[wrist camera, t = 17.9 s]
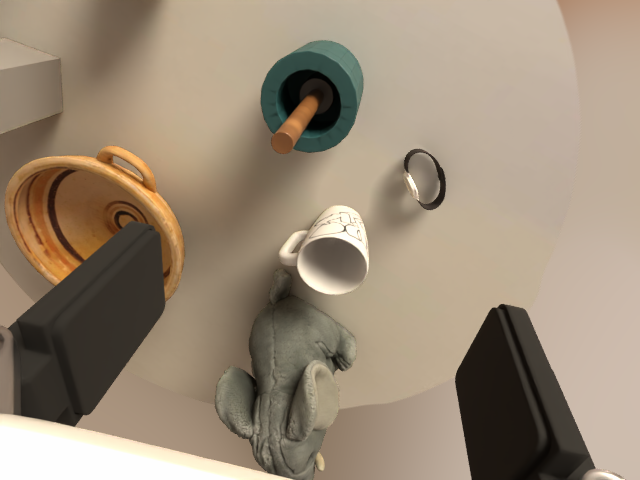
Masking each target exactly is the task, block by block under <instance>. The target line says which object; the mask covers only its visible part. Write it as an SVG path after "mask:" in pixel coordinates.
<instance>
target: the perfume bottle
mask: <svg viewBox="0 0 640 480" xmlns="http://www.w3.org/2000/svg"><path fill="white" fill-rule="evenodd" d="M61 112H63V103H62V83H61V63H60V58H58V57H55V56H53V55H50V54H47V53H44V52H42V51H39V50H36V49H34V48H31V47H28V46H26V45H23V44H20V43H18V42H15V41H12V40H10V39H7V38H3V39H0V134H2V133H5V132H7V131H10V130H13V129H16V128H19V127H22V126H24V125H27V124H30V123H33V122H36V121H38V120H41V119H44V118H47V117H50V116H53V115H55V114H58V113H61Z"/></svg>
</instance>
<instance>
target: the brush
mask: <svg viewBox="0 0 640 480" xmlns="http://www.w3.org/2000/svg"><path fill="white" fill-rule="evenodd" d="M337 94H338V90H337V88H336V86H335V84H334V83H333V82H332V81H331V80H330V79H329V78H328V77H327V76H325V75H323V74H322V73H320V72H318V71H317V72H315V73H313V74H312V75H311V76H310V77H309V78H308V79H307V80H306V81H305V82H304V83H303V84H302V86H301V88H300V91H299V100H300V104H299V105H298V106H297V108H296V109H295V110H294V111H293V112H292V114H291V115H290V116H289V117H288V118H287V119H286V121H285V122H284V123H283V124H282V125H281V127H280V128H279V129H278V130H277V131H276V133H275V134H274V135H273V136H272V139H271V144H272V147H273V149H274V150H275V151H276V152H278V153H280V154H287V153H289V152H290V151H291V150H292V149H293V147H294V145H295V144H296V142H297V141H298V139H299V138H300V136H301V135H302V133H303V131H304V130H305V128H306V127H307V125H308V124H309V122H310V120H311V119H312V117H313V116H314V114H316V115H318V114H323V113H325V112H326V111H328V110H329V109H330V107H331V106H332V104H333V102H334V100H335V98H336V96H337Z"/></svg>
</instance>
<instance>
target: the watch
mask: <svg viewBox="0 0 640 480" xmlns="http://www.w3.org/2000/svg"><path fill="white" fill-rule="evenodd" d="M419 152H423V153H426V154H428V155H429V156H430V157H431V158H432V159H433V161H434V163H435V166H436V169H437V172H438V178H439V180H440V192H439V195H438V196H437V198H436V199H435V200H434V201H433V202H432V203H429V204H423V203H421V202H420V201H419V199H418V191H417V190H418V189H417V188H416V186H415V184H414V182H413V180H412V178H411V176H410V175H409V171H408V162H409V159H410V157H411V156H412V155H414V154H415V153H419ZM404 168H405V170H404V171H405V174H403V177H404V181H405V183H406V186H407V188H408V190H409V192H410V194H411V195H412V197H413V198H416V200H417V201H418V202H419V203H420V205H421V206H422V207H423V208H424V209H427V210H433V209H436V208H437V207H438V206H439V205H440V204H441V203H442V201H443V200H444V197H445V191H446V182H445V175H444V171H443V169H442V168H441V167H440V165H439V163H438V162H437V160H436V159H435V158H434V157H433V156H432V155H431V154H429V153H428V152H426V151H424V150H421V149H414V150H411V151H410V152H409V153H408V154H407V155H406V157H405V160H404Z"/></svg>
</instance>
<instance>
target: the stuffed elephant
mask: <svg viewBox="0 0 640 480" xmlns="http://www.w3.org/2000/svg"><path fill="white" fill-rule="evenodd" d="M273 280H274V284H273V286H272V288H271V289H270V292H269V300H270V303H269V304H267V306H266V307H264V308H263V309H262V310H261V312H260V313H259V314H258V316H257V318H256V319H255V321H254V324H253V327H252V331H251V334H250V338H249V351H250V355H251V358H252V361H251V365H252V373H253V377H254V378H255V379H256V380H255V379H254V378H253V377H252V376H251V375H249V374H248V373H247V372H246V371H244V370H242V369H240V368H237V367H235V366H230V367H229V368H228V369H227V370H225V371H224V375H223V376H222V378H220V381H219V382H218V384H217V386H216V395H215V408H216V411H217V413H218V415H219V418H220V419H221V421H222V422H223V423H224V424H225V425H226V426H227V427H228V429H230V431H231V432H233V433H235V434H237V435H238V437H242V438H243V439H249V441H250V444H251V446H252V450H253V455H254V457H255V460H256V461H257V462H258V464H259V465H260V466H261V467H262V468H263V469H264V470H265V471H267V472H268V473H269V474H273V475H277V476H281V477H285V478H289V479H293V480H313V478H314V472H315V465H316V467H317V469H318V470H319V471H323V470H324V460H323V457H322V455H321V454H320V452H319V450H320V448H321V445H322V442H323V438H324V436H325V433H326V429H327V428H328V427H329V426H330V425H331V424H332V423H333V422H334V420H335V419H336V416H337V414H338V409H339V387H338V384H337V382H336V379H335V377H334V371H336V370H337V369H338V368H339V369H340V370H341V371H346V370H347V369H349V368H351V367H352V364H353V362H354V360H355V359H356V340H355V338H354V336H353V335H352V334H351V333H350V332H349V331H348V330H346V329H345V328H344V327H343V326H341V325H340V324H338V323H337V322H335V321H334V320H333V319H332V318H331V317H330V316H328V315H327V314H325V313H323V312H321V311H319V310H318V309H316V308H315V307H314V306H313V305H311V304H309V303H307V302H305V301H303V300H301V299H299V298H298V297H296V296H288V294H289V290H290V288H291V287H290V285H291V275H289V274H287V273H286V271H285V270H282V269H279V270H276V271H275V273H274V276H273Z"/></svg>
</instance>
